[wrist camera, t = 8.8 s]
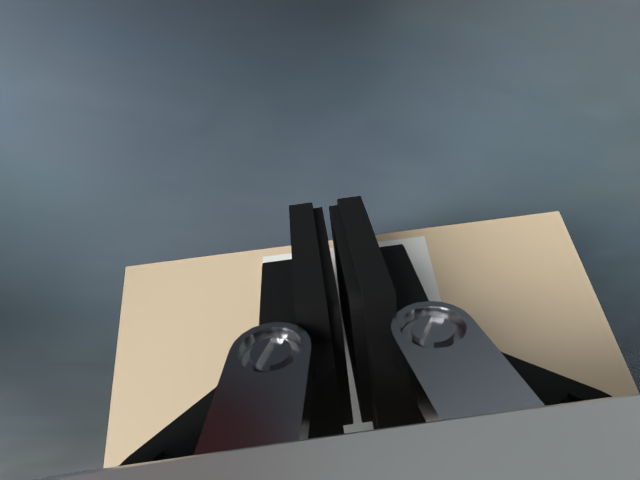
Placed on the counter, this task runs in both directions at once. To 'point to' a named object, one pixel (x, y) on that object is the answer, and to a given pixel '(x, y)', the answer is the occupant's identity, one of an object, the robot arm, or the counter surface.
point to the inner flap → (244, 307)
